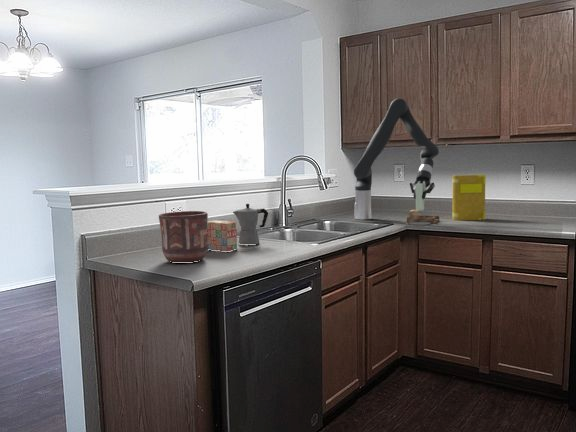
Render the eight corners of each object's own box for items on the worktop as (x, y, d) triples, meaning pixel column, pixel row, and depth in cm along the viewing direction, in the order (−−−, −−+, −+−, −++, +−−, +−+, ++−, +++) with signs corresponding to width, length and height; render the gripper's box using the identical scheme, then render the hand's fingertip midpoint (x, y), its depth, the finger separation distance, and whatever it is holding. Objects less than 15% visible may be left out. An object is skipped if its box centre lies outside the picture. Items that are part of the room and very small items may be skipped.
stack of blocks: (189, 249, 219) (188, 220, 218) (200, 247, 224) (198, 219, 223) (227, 253, 207) (226, 223, 206) (237, 250, 212) (236, 221, 211)
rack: (406, 222, 285) (406, 217, 285) (412, 220, 295) (412, 215, 295) (434, 223, 278) (434, 218, 277) (439, 220, 288) (439, 215, 288)
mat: (408, 224, 275) (408, 223, 275) (412, 223, 282) (412, 222, 282) (427, 225, 271) (427, 224, 271) (431, 223, 278) (431, 222, 278)
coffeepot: (233, 246, 222) (231, 205, 220) (234, 243, 231) (233, 203, 229) (269, 245, 222) (267, 203, 220) (269, 242, 232) (267, 202, 230)
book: (481, 218, 294) (482, 174, 291) (485, 219, 287) (485, 174, 284) (451, 219, 295) (451, 175, 293) (453, 220, 289) (454, 175, 286)
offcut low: (408, 220, 286) (408, 215, 286) (412, 218, 294) (412, 214, 294) (415, 220, 284) (415, 215, 284) (419, 218, 292) (419, 214, 292)
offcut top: (409, 215, 286) (409, 211, 285) (412, 214, 293) (412, 209, 293) (416, 215, 284) (416, 211, 284) (419, 214, 292) (419, 209, 291)
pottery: (203, 255, 204) (200, 209, 202) (215, 262, 188) (212, 213, 186) (158, 260, 197) (154, 213, 195) (166, 268, 181) (163, 217, 179)
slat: (415, 210, 275) (415, 184, 273) (417, 209, 278) (417, 183, 277) (422, 210, 273) (422, 183, 272) (424, 209, 277) (424, 183, 275)
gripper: (410, 170, 283) (404, 193, 274) (436, 169, 276) (431, 193, 267) (413, 179, 289) (407, 202, 279) (438, 178, 282) (433, 202, 272)
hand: (419, 198), depth 273 cm, fingers closed on slat, 3 cm apart
